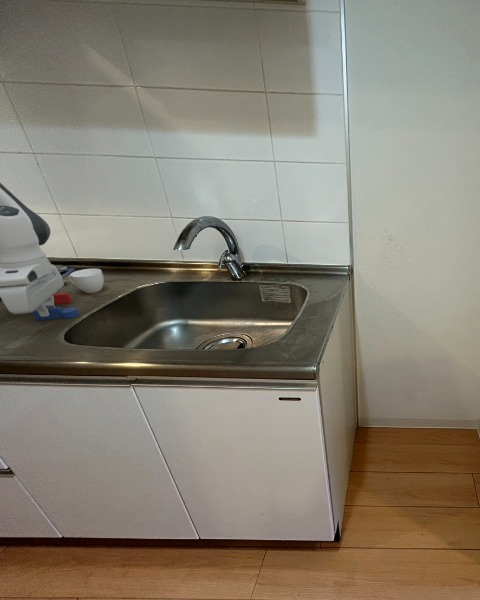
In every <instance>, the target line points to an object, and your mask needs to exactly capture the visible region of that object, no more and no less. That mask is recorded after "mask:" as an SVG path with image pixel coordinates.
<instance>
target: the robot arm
mask: <svg viewBox="0 0 480 600" xmlns="http://www.w3.org/2000/svg"><path fill="white" fill-rule="evenodd" d="M50 237H51V227H50V226H49V224H48V222H47V221H46V220H45V219H44V218H42V217H41V216H40V215H39V214H37V213H36V212H34V211H33V210H32V209H30V208H29V207H27V206H26V205H25V204H24V203H23V202H21V200H20V199H18V197H17V196H15V194H14V193H12V192H11V191H10V190H9V189H8V188H7V187H5V186H4V185H3V184H2V183H1V182H0V299H1V301H2V303H3V304H4V306H5V308H6V310H7V311H8V312H10V313H11V314H13V315H24V314H31V313H33V311H34V310H36V311H38V313H39V314H40V316H42V317H45V316H49V315H50V314H51V312H50V309H49V308H55V307H56V304H54V297H53V294H57V292H59V290H61V289H62V288H63V287H64V286H65V284H64V282H65V281H64V278H62V276H63V275H61V273H60V271H58V268H57V267H56V265H54V264H52V263H51V261H50V260H49V258H48V257H47V254H46V253H45V252H44V251H43V249H42V248H41V246H44V245H45V244H46V243H47V241H48V240H49V239H50ZM47 308H48V309H47Z"/></svg>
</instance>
